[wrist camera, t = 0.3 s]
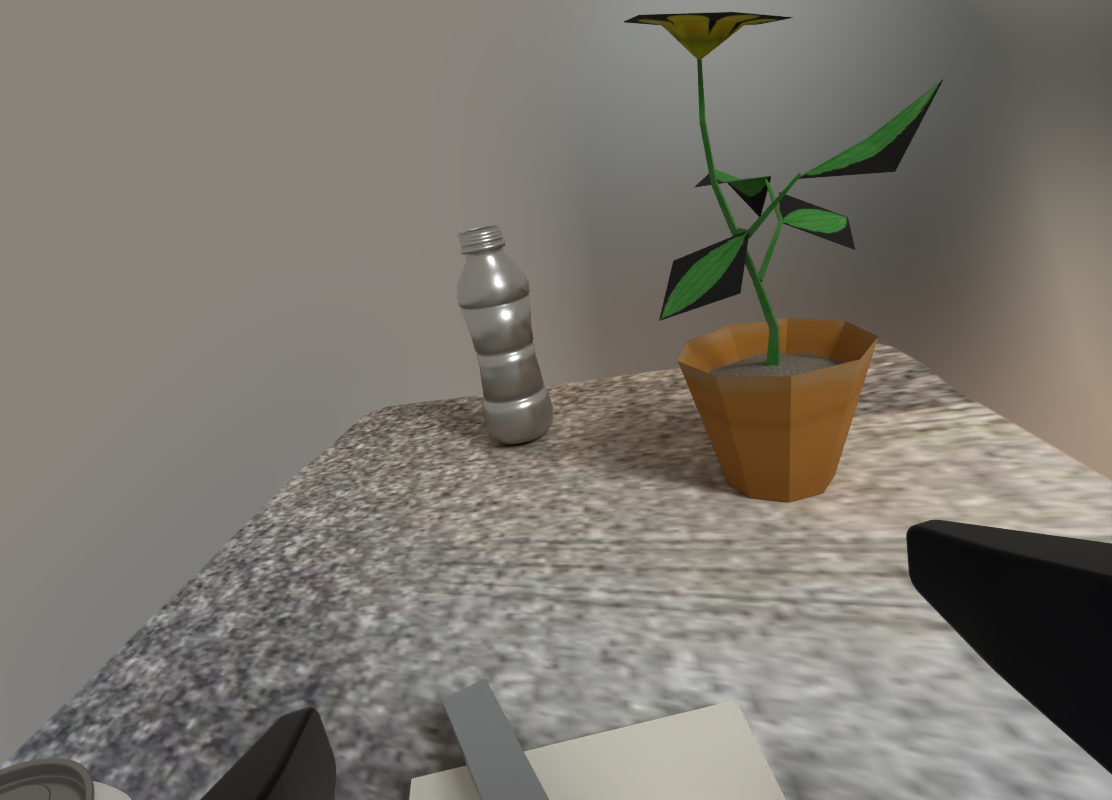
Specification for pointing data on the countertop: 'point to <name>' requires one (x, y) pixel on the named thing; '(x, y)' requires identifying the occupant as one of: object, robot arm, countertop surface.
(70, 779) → the can
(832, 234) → the potted plant
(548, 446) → the countertop surface
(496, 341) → the plastic bottle
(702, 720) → the octagonal ring fixture plate
